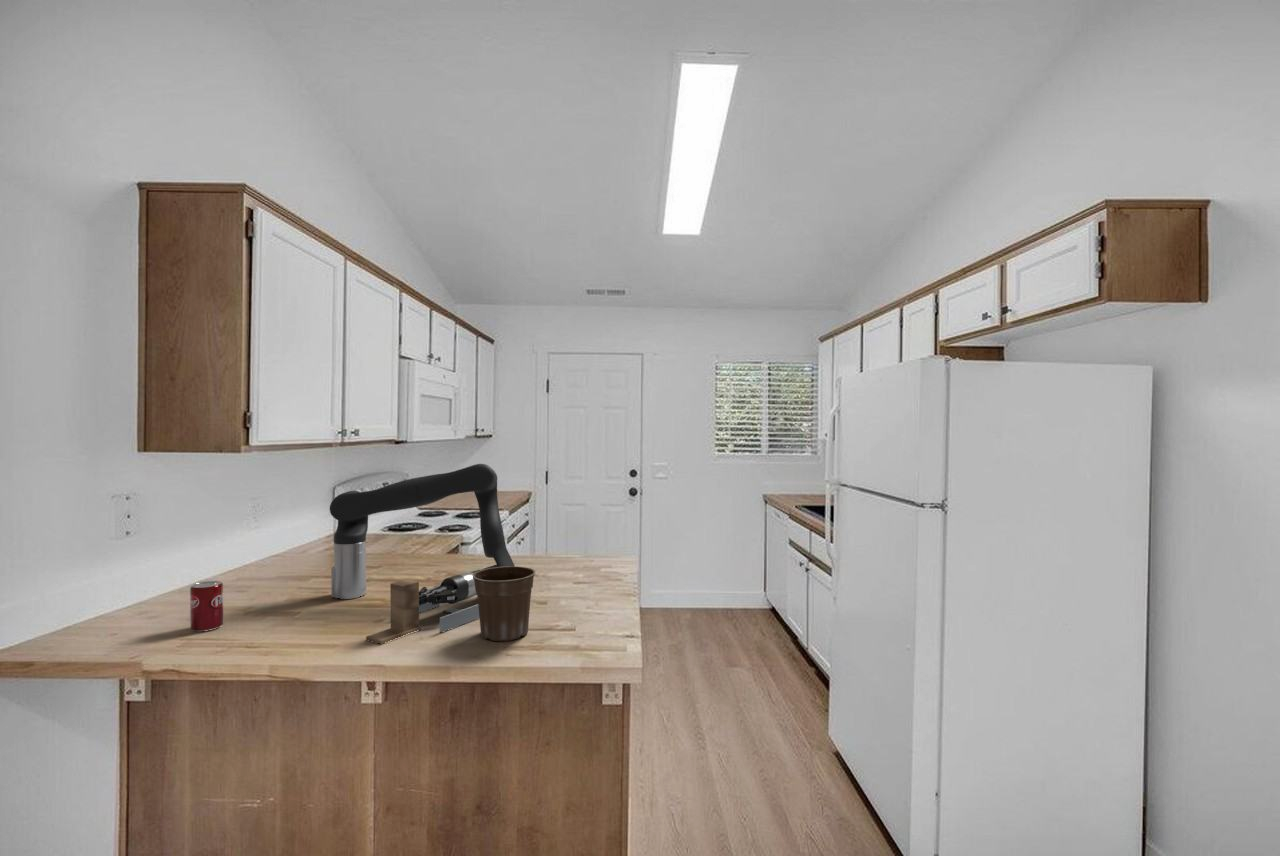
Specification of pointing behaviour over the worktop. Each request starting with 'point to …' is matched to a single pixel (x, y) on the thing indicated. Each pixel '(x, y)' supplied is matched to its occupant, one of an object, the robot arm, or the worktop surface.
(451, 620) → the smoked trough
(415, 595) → the walnut post stand
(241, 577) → the worktop surface
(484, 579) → the plant pot
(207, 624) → the soda can
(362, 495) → the robot arm
